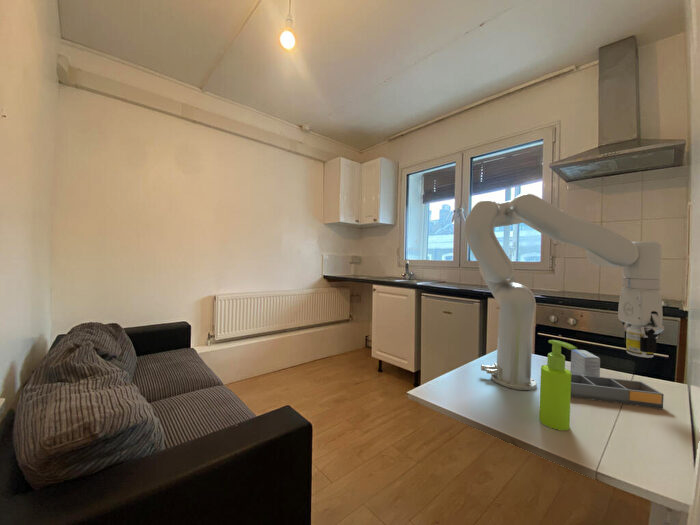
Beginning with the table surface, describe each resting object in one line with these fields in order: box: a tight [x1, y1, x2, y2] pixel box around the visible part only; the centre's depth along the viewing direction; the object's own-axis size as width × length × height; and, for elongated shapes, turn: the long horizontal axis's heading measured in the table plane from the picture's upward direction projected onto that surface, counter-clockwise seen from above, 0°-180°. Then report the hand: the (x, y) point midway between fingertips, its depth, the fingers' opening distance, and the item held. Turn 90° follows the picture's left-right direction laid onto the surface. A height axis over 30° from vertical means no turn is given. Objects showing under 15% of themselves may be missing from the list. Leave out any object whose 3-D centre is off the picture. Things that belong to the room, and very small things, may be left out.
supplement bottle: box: [626, 324, 655, 359], centre depth 79 cm, size 5×5×10 cm
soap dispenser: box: [538, 339, 578, 432], centre depth 66 cm, size 6×7×20 cm
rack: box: [571, 374, 664, 410], centre depth 81 cm, size 23×8×4 cm, turn 75°
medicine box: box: [570, 349, 601, 377], centre depth 93 cm, size 8×4×9 cm, turn 168°
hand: (639, 347), depth 79 cm, fingers closed on supplement bottle, 5 cm apart
